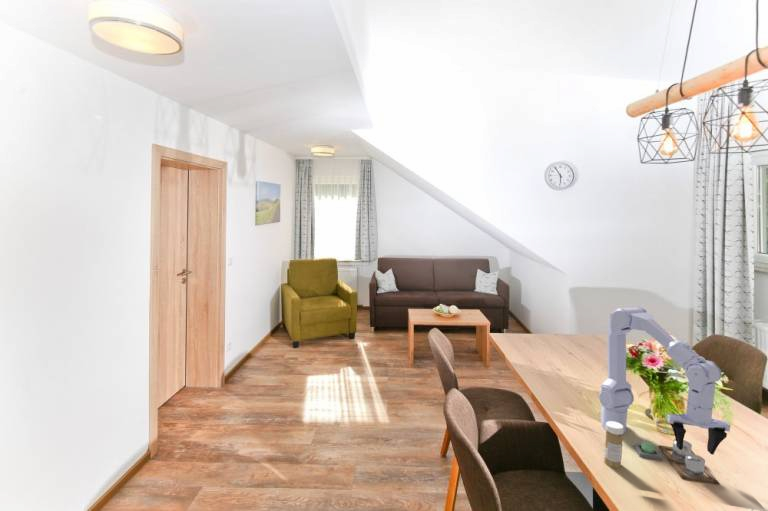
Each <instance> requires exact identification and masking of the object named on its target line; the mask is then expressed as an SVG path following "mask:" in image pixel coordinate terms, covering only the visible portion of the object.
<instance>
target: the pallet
mask: <svg viewBox="0 0 768 511" xmlns="http://www.w3.org/2000/svg"><path fill="white" fill-rule="evenodd" d="M658 448H659V449H660V451H661V452H662V454H663V455H664V456H665V457H666V459H667V461H669V463H670V465H671V466H672V467H673V469H674V470H675V472H676V473H677V475H679V477H680V479H681V480H687V481H693V482H700V483H704V484H709V485H710V484H711V485H718V486H719V485H720V482H719V480H717V478H716V477H715V475H713V473H712V472H711V471H710V470H709V469H708V467H707V466H705V468H704V475H706V476H707V478H704V477H703V478H699V477H693V476H690V475H688V474H685V472H684V471H683V470H682V469H681V468H680V466H679V465H681V466H684V464H685V461H681V460H678V459H673V458H674V457H673V456H672V455H671V454H670V453H669V451H672V450H673V446H667V445H661V444H659V445H658ZM691 454H695V455H696V453H695V452H694V451H693V450H692V449H691Z"/></svg>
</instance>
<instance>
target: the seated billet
mask: <svg viewBox="0 0 768 511" xmlns="http://www.w3.org/2000/svg"><path fill="white" fill-rule="evenodd" d="M672 447H673V450H672V452H671V457H672V458H674V459H675V460H679V461H685V455H686V454H691V450H692V444H691V442H689V441H686V440H683V448H682V450H680V449H678V447H677V446H676V439H675V438H674V439H673V442H672Z"/></svg>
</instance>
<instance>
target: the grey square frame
mask: <svg viewBox="0 0 768 511" xmlns="http://www.w3.org/2000/svg"><path fill="white" fill-rule="evenodd" d="M641 444H642V443H636V442H635V443H634V442H633V445H632V447H633V449H634V450H635V452H636V453H637V455H638V457H639V458H644V459H652V460H659V461H663V455H662V454H661V453H660V451H659V450H658V449H657V446H655V449H654V454H651V453H644V452H642V451H641Z"/></svg>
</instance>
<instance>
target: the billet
mask: <svg viewBox="0 0 768 511" xmlns="http://www.w3.org/2000/svg"><path fill="white" fill-rule="evenodd" d="M683 466H684V467H683V473H684V474H685V475H687V476H693V477H699V478H704V476H705V472H704V468H705V467H706V460H705V458H703V457H702V456H700V455H697V454H696V453H695V454H686V455H685V464H684V465H683Z"/></svg>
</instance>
